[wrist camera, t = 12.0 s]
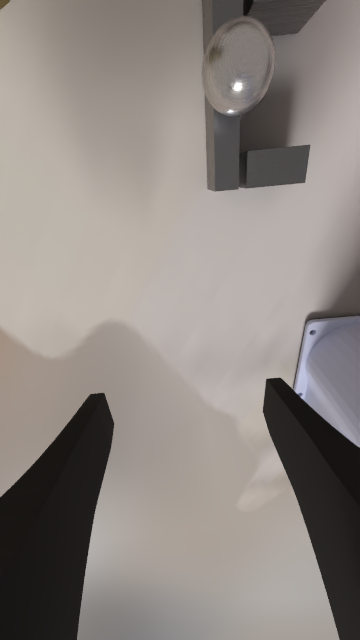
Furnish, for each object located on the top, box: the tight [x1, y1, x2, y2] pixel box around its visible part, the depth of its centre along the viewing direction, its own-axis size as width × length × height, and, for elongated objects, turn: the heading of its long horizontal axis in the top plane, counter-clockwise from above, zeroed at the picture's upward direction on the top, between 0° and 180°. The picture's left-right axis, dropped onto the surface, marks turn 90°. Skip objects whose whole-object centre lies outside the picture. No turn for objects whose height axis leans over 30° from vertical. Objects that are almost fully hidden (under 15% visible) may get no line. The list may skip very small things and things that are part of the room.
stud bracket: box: [202, 0, 326, 191], centre depth 11 cm, size 8×5×6 cm, turn 5°
